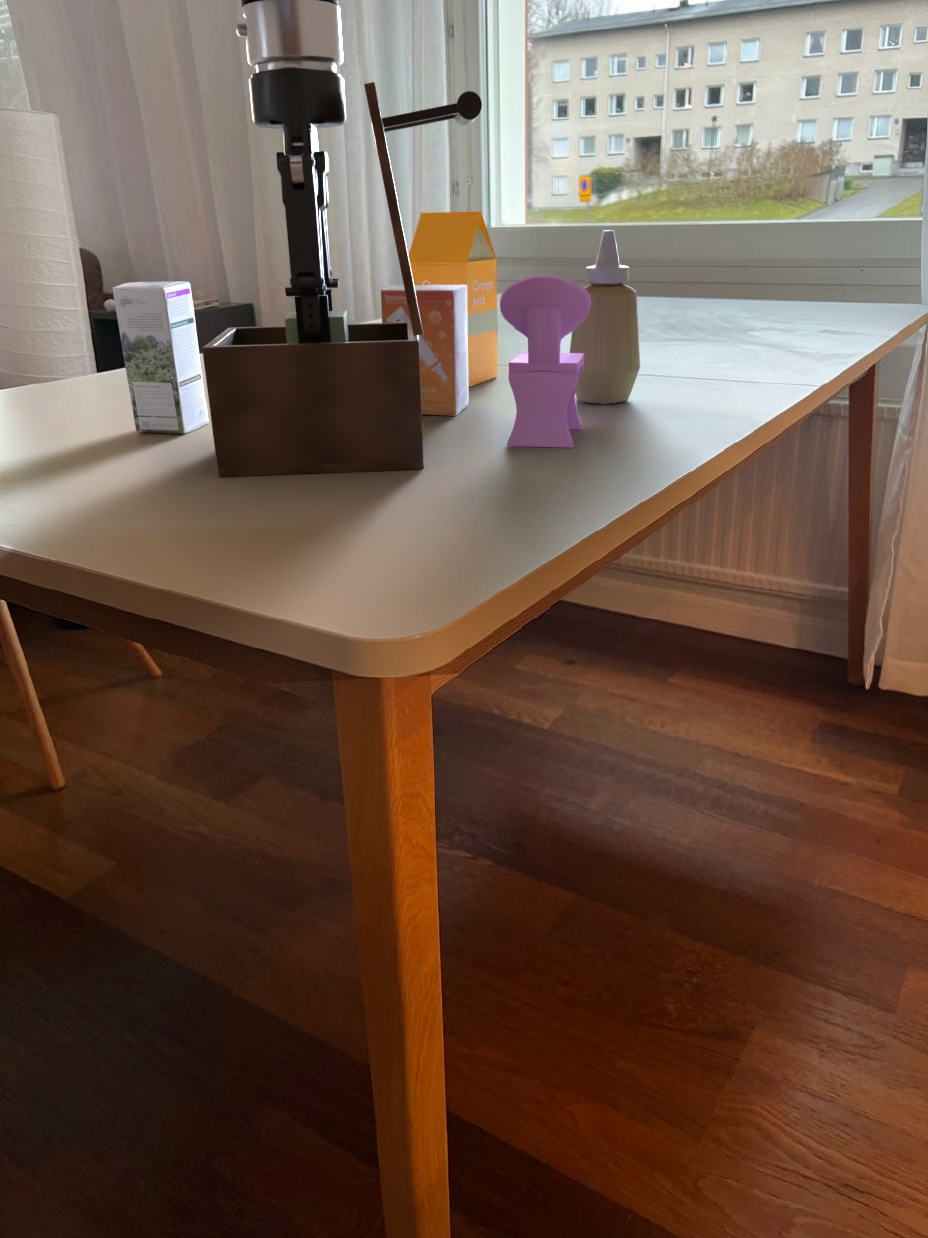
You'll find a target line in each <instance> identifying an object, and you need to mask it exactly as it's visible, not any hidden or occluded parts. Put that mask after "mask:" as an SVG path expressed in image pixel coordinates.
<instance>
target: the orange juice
mask: <svg viewBox="0 0 928 1238" xmlns="http://www.w3.org/2000/svg"><path fill="white" fill-rule="evenodd" d="M408 257H409V263H410V268H411V273H412V278H413V283H414V285H467V320H468V385H469V386H470V385H473V384H476V385H479V384H481V383H480V382H482V383H484V382H483V381H485V382H487V381H486V380H488V379H491V378H494V377H496V376H498V373H499V371H498V368H499V367H498V366H499V365H498V324H499V322H498V319H499V318H498V316H499V315H498V281H497V280H498V278H497V277H498V273H497V271H498V267H497V264H498V263H497V261H498V259H497V256H496V253H495V251H494V247H493V243H492V241H491V237H490V234H489V231H488V229H487V225H486V222H485V220H484V217H483V213H482V211H453V212H452V211H446V212H445V211H443V212H441V211H439V212H420V215H419V219H418V222H417V225H416V228H415V231H414V235H413V239H412V242H411V245H410V249H409V252H408ZM498 377H499V376H498ZM494 379H495V378H494ZM491 380H492V379H491ZM488 381H489V380H488ZM478 383H479V384H478ZM473 386H474V385H473ZM470 387H471V386H470Z"/></svg>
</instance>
